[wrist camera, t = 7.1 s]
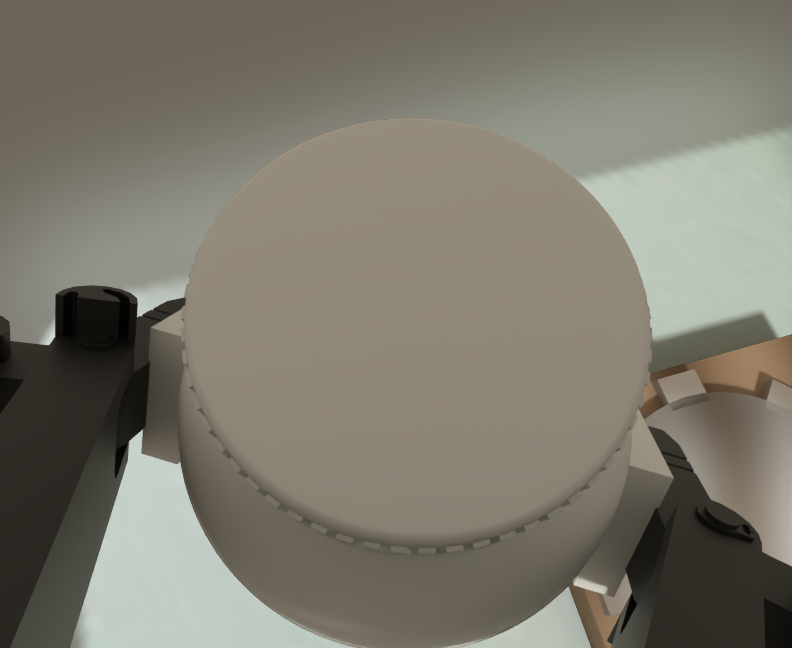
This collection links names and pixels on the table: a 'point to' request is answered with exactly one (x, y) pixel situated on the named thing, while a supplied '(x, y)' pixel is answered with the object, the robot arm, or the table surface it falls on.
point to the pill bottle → (410, 382)
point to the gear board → (722, 449)
